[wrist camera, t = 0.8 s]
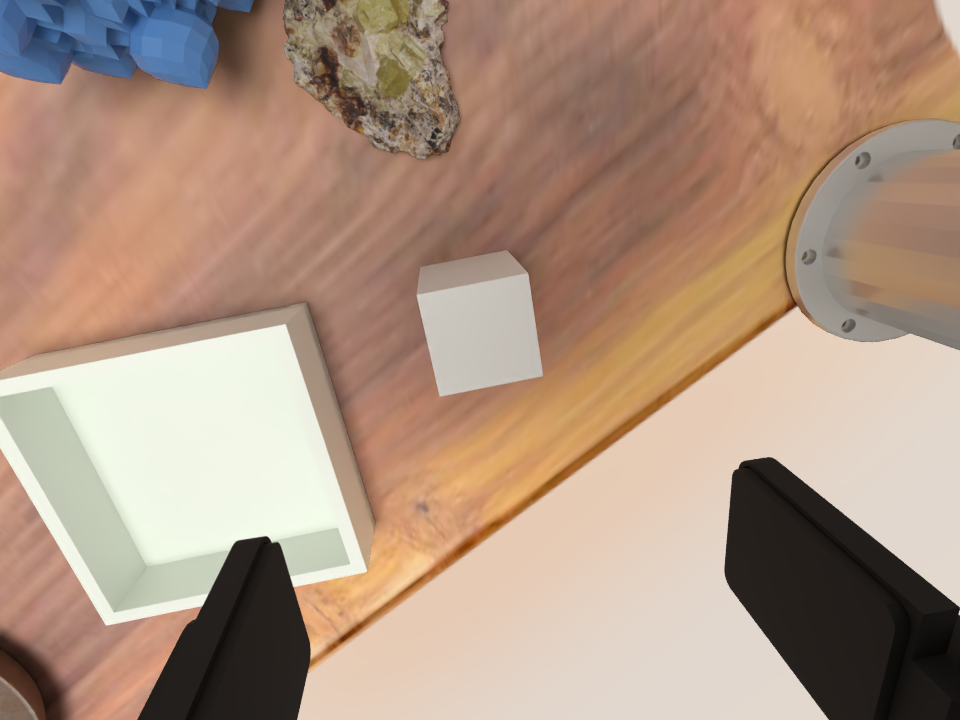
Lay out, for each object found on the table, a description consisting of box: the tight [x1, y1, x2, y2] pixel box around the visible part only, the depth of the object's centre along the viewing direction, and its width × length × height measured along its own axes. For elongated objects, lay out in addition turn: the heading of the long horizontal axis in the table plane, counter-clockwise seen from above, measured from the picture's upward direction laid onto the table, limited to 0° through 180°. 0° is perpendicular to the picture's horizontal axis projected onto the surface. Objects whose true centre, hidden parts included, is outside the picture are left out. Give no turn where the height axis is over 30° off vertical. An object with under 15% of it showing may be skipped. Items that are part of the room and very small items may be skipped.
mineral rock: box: [283, 0, 461, 159], centre depth 24 cm, size 11×4×8 cm
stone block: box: [417, 250, 543, 397], centre depth 27 cm, size 5×5×7 cm
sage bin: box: [0, 302, 375, 626], centre depth 30 cm, size 16×16×4 cm
